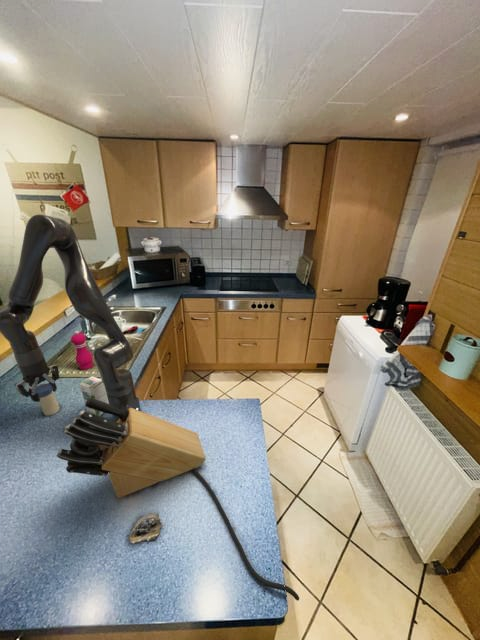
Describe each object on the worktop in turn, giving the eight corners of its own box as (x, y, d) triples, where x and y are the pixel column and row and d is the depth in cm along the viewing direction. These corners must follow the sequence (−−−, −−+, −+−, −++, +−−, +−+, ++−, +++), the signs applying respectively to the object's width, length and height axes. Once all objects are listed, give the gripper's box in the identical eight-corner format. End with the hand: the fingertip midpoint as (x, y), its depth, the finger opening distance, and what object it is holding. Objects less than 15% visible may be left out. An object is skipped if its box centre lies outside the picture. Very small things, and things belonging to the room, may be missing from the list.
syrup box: (87, 413, 98) (78, 384, 92) (100, 403, 103) (92, 375, 97) (98, 418, 96) (89, 388, 90) (110, 407, 101) (102, 378, 95)
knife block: (84, 476, 76) (53, 397, 63) (197, 438, 89) (191, 366, 76) (78, 514, 67) (41, 432, 53) (206, 466, 79) (201, 389, 66)
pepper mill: (87, 371, 123) (76, 335, 114) (74, 369, 124) (63, 333, 116) (97, 363, 129) (88, 328, 121) (85, 361, 130) (75, 327, 122)
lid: (47, 385, 99) (45, 381, 98) (56, 389, 97) (55, 385, 96) (31, 394, 94) (29, 390, 93) (41, 399, 92) (39, 395, 91)
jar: (62, 408, 101) (54, 387, 96) (49, 417, 96) (40, 396, 92) (54, 404, 103) (46, 383, 98) (40, 412, 98) (31, 391, 94)
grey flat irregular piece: (165, 533, 63) (164, 529, 62) (132, 555, 59) (130, 551, 58) (157, 508, 68) (156, 504, 67) (126, 527, 64) (125, 522, 63)
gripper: (44, 347, 96) (57, 382, 103) (0, 367, 84) (18, 405, 92) (57, 351, 94) (70, 387, 101) (13, 373, 82) (31, 411, 89)
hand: (45, 395), depth 96 cm, fingers closed on lid, 5 cm apart
